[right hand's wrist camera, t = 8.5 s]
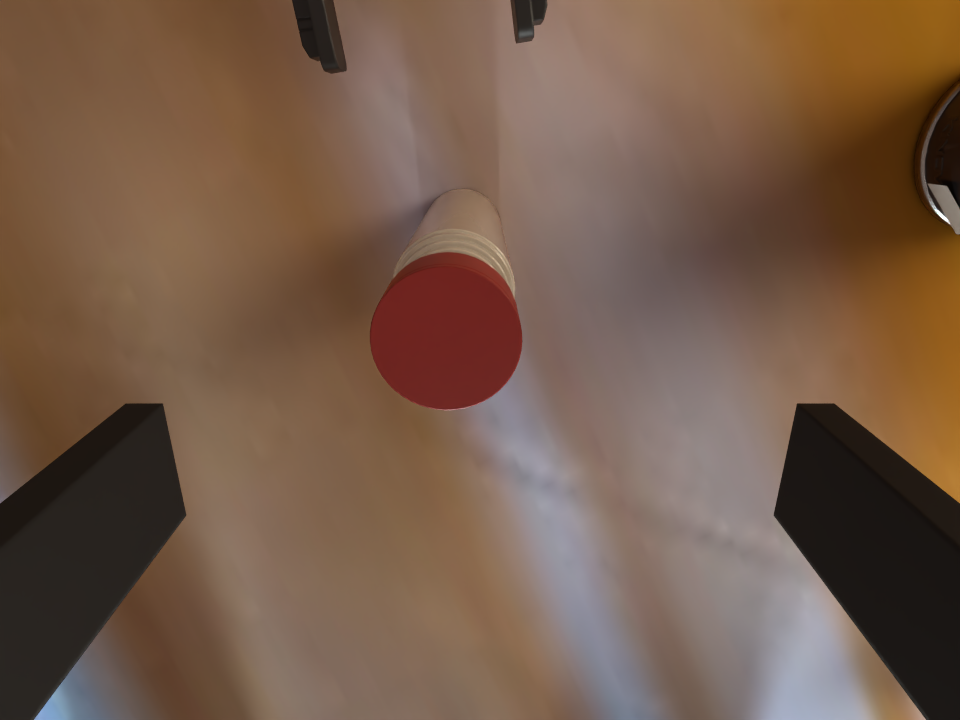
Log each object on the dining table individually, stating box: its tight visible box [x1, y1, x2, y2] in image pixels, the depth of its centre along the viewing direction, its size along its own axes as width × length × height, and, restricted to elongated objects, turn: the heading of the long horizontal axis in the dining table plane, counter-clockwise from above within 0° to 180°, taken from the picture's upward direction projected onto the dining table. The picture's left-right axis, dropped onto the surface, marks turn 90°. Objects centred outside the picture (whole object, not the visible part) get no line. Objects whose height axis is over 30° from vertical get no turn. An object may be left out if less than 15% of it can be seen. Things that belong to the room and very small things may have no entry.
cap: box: [370, 252, 522, 410], centre depth 18 cm, size 4×4×2 cm
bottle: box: [392, 189, 515, 299], centre depth 27 cm, size 4×4×20 cm
